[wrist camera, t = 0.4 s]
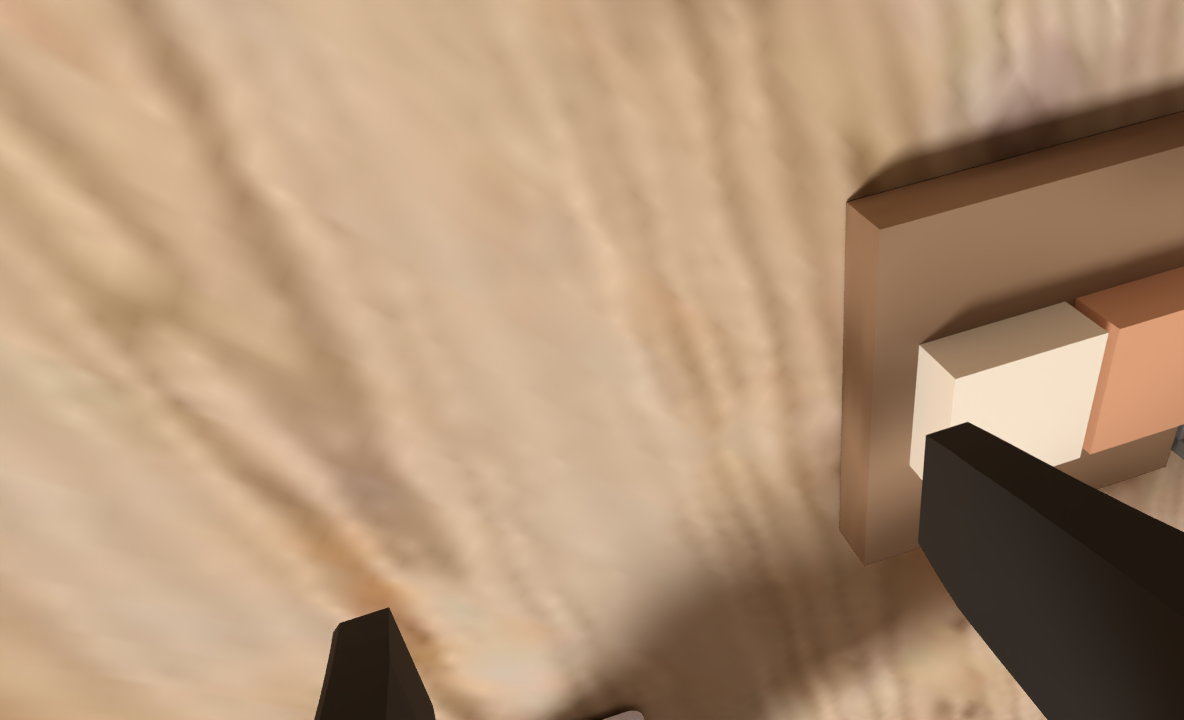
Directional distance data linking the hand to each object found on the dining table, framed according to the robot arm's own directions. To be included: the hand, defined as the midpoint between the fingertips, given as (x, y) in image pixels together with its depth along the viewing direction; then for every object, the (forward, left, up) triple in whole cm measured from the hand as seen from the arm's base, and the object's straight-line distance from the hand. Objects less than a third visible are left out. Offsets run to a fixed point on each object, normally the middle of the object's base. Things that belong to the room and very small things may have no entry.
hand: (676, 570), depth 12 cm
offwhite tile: (-6, -11, -8) cm, 15 cm away
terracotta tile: (-6, -15, -8) cm, 18 cm away
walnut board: (-6, -13, -10) cm, 17 cm away
